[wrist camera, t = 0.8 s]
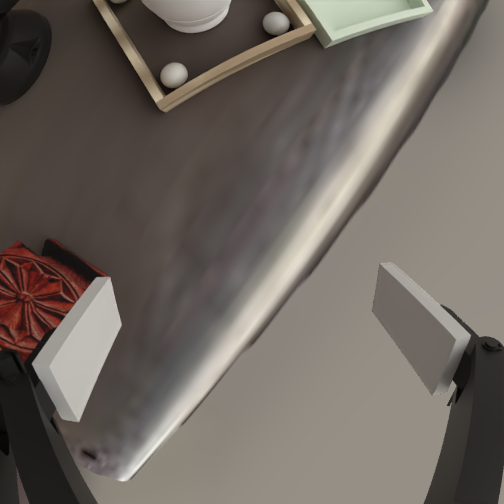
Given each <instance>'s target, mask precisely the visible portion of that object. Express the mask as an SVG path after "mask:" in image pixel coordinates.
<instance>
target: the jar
mask: <svg viewBox="0 0 504 504" xmlns="http://www.w3.org/2000/svg"><path fill="white" fill-rule="evenodd" d="M141 1H142V2H143V4H144V5H145V6H146V7H147V8H149V9H150V10H151V11H152V12H154V13H155V14H157V15H158V16H159V17H160V18H162V19H163V20H164V21H165V22H166V23H167V24H168V25H169V26H170V27H171V28H173V29H175V30H177V31H180V32H185V33H197V32H203V31H206V30H209V29H211V28H213V27H215V26H216V25H218V24H219V23H220V22H221V21H222V20H223V19H224V18H225V16H226V15H227V13H228V10H229V4H230V2H231V0H141Z"/></svg>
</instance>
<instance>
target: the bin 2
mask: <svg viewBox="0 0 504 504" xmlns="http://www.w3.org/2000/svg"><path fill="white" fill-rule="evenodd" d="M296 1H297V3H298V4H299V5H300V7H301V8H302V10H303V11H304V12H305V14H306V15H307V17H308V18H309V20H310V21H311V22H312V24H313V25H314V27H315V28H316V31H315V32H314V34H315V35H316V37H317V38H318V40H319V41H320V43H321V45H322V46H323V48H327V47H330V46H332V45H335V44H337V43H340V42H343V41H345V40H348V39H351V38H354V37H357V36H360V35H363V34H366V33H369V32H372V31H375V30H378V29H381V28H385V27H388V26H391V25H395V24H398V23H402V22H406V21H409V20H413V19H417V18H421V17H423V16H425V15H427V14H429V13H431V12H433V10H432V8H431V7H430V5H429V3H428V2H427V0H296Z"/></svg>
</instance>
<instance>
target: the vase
mask: <svg viewBox="0 0 504 504" xmlns="http://www.w3.org/2000/svg"><path fill="white" fill-rule="evenodd" d="M96 277H107V275H106V274H104V273H103V272H101V271H99V270H97V269H96V268H94V267H93V266H91V265H90V264H88V263H86V262H85V261H83V260H82V259H80V258H79V257H77V256H76V255H74V254H73V253H71V252H69V251H67V250H65V249H64V248H63V247H62V246H61V245H60V244H59V243H58V242H57V241H56V240H54V239H47V240H46V241H45V244H44V248H43V251H42V255H41V256H39V255H36V254H35V253H34V252H33V251H32V250H30V249H29V248H27V247H26V246H25V245H24V244H23V243H22V242H19V241H17V243H16V244H14V245H13V246H12V247H10V248H8V249H7V250H5V251H3V252H2V253H1V254H0V351H1V350H3V349H7V348H10V349H15V350H17V352H18V354H19V356H20V358H21V360H22V362H23V364H24V362H25V361H26V359H27V358H28V357H29V355H30V354H31V352H32V351H33V350H34V349H35V347H36V345H37V344H38V343H40V340H41V339H42V337H43V336H44V335H45V333H47V332H48V331H49V330H51V329H52V328H53V327H58V326H59V325H60V323H61V322H62V321H63V319H64V318H65V317H66V315H67V314H68V313H69V311H70V310H71V309H72V307H73V306H74V305H75V303H76V302H77V301H78V300H79V298H80V297H81V296H82V295H83V293H84V292H85V291H86V290H87V288H88V287H89V286H90V285H91V283H92V282H93V281H94V280H95V278H96Z"/></svg>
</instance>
